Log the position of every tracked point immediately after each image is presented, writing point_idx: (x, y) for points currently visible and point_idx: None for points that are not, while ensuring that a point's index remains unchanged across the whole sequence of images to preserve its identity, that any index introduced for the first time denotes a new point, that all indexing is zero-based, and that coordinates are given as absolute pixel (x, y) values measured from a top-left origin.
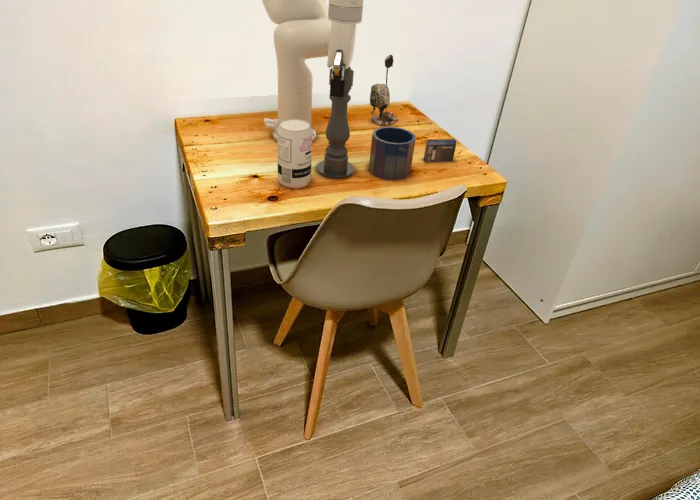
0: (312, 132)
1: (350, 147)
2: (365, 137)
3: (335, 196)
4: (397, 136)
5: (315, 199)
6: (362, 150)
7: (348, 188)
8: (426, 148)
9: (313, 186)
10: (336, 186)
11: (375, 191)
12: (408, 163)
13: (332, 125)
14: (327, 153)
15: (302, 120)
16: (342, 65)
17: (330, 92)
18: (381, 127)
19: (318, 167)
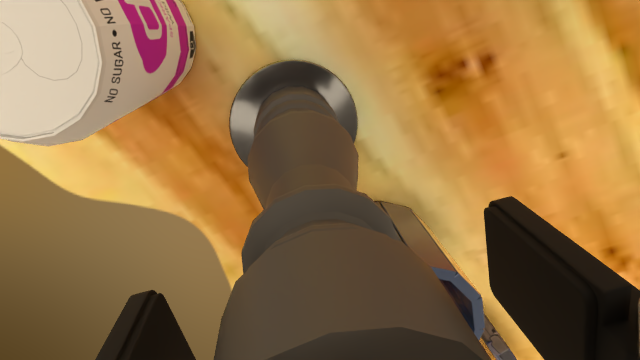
0: (81, 139)
1: (480, 99)
2: (576, 113)
3: (141, 192)
4: (459, 305)
5: (84, 150)
6: (472, 142)
7: (208, 203)
8: (489, 333)
9: (152, 109)
10: (197, 170)
11: (236, 267)
12: None
13: (256, 175)
14: (261, 120)
15: (98, 53)
16: (612, 355)
17: (125, 313)
18: (458, 277)
19: (263, 75)
